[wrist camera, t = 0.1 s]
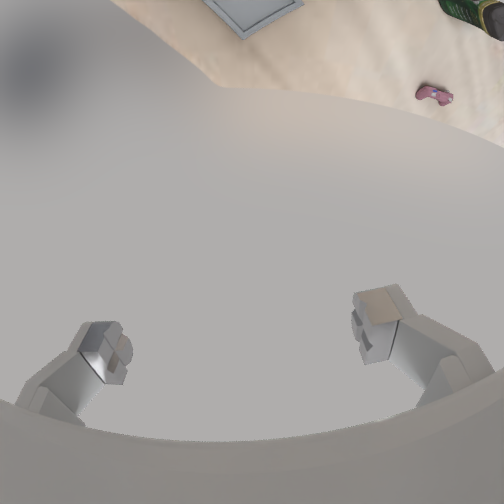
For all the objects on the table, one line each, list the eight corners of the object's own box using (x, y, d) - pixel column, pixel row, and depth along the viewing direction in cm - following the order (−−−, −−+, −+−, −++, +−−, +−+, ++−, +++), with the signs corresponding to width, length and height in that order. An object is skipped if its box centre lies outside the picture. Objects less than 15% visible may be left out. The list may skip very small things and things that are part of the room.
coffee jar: (445, 18, 32) (501, 49, 22) (431, -10, 27) (490, 14, 17) (470, 8, 26) (525, 38, 17) (457, -19, 21) (517, 4, 11)
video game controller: (441, 90, 51) (458, 92, 45) (440, 106, 53) (457, 109, 47) (414, 82, 50) (430, 83, 44) (413, 98, 53) (430, 101, 47)
